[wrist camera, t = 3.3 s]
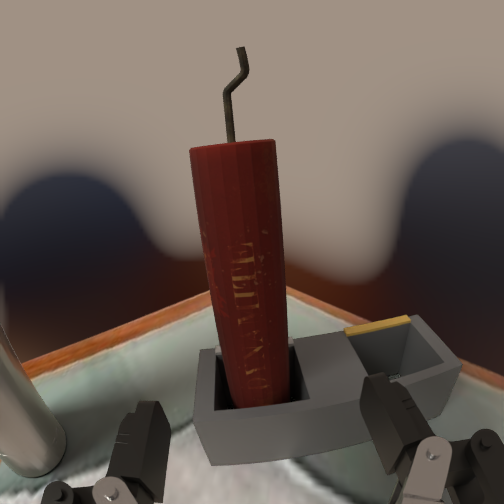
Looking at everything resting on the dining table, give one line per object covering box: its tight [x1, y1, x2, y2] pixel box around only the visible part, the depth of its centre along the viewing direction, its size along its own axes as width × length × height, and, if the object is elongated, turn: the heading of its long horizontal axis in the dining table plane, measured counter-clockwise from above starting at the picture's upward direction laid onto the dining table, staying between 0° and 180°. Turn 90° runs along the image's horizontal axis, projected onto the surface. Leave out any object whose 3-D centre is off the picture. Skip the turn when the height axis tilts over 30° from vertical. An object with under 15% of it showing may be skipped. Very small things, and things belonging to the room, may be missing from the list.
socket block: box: [193, 315, 463, 466], centre depth 24 cm, size 22×9×7 cm, turn 94°
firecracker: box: [189, 47, 290, 409], centre depth 20 cm, size 5×5×30 cm
